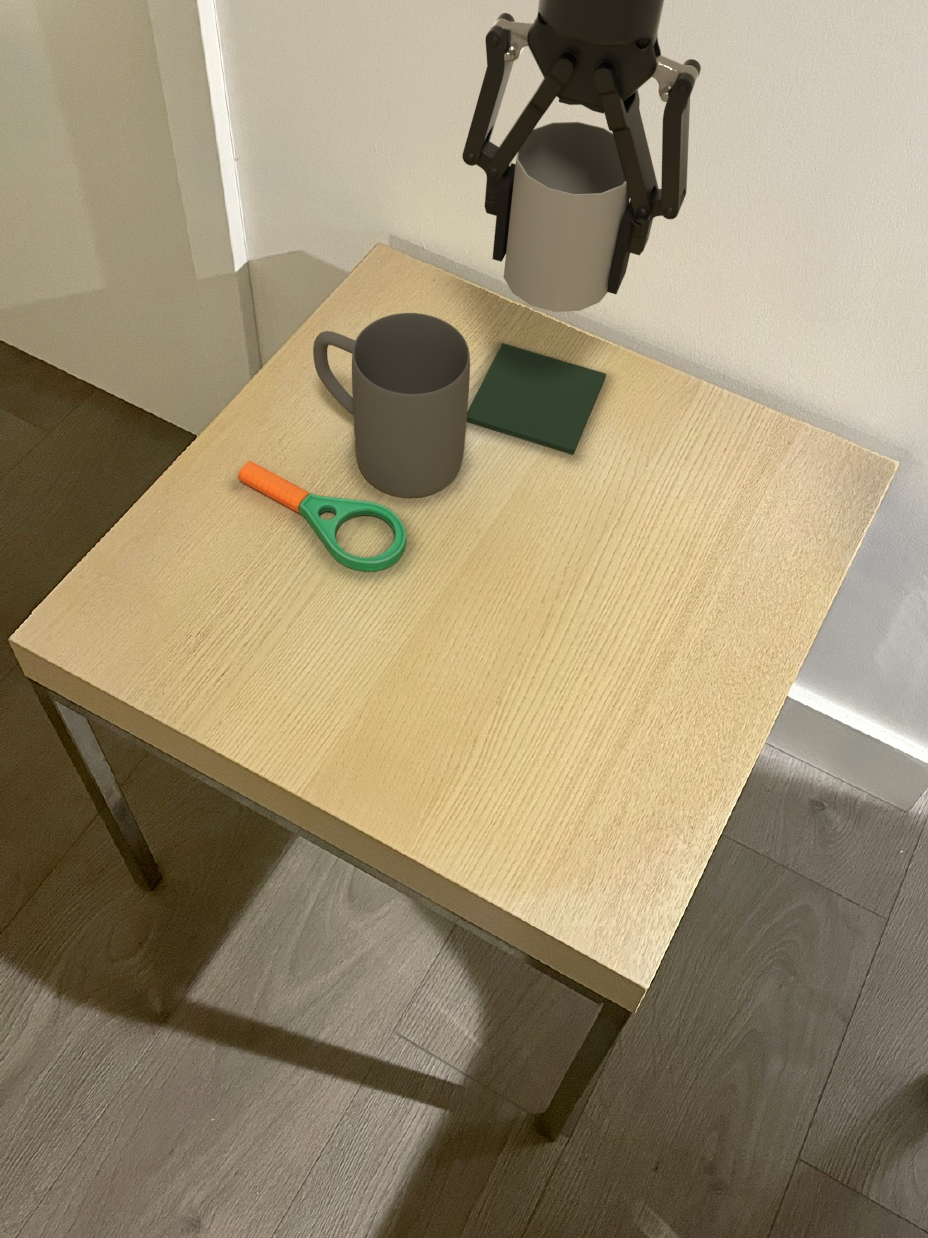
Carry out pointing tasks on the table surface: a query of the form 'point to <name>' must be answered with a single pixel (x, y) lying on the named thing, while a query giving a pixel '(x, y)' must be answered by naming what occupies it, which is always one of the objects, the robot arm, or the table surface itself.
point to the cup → (565, 216)
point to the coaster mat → (536, 398)
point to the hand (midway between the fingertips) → (559, 265)
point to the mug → (404, 400)
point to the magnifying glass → (327, 529)
